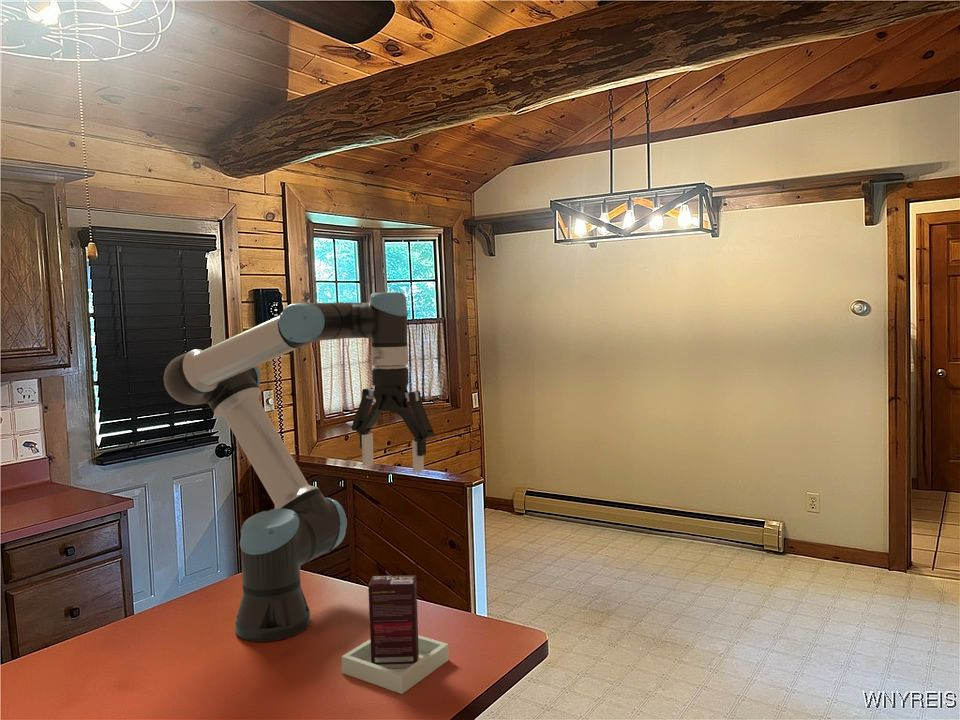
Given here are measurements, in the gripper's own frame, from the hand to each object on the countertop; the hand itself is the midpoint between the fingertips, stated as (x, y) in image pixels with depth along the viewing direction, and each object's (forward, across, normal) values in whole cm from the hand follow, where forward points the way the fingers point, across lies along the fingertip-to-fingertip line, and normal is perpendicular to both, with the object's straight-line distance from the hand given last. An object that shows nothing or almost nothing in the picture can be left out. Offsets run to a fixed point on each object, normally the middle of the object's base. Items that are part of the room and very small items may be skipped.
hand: (392, 467), depth 152 cm
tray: (+33, +13, -16) cm, 39 cm away
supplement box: (+32, +13, -16) cm, 38 cm away
